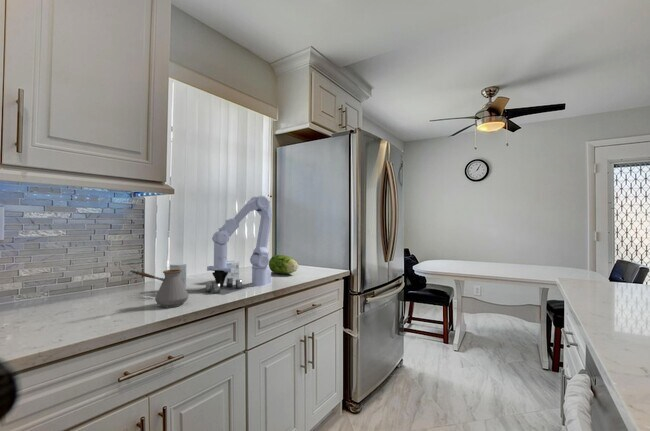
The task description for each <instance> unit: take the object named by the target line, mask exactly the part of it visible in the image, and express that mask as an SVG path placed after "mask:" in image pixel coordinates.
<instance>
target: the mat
mask: <svg viewBox="0 0 650 431" xmlns="http://www.w3.org/2000/svg"><path fill="white" fill-rule="evenodd" d="M245 289H247V287H242V289H236V286H233V287H230V288H227V285H225V284H223V287H221V288H220V293H218V294H217V295H219V296H220V295H221V296H225V295H228V294H231V293H235V292H239V291H242V290H245ZM193 292H199V293H206V287H203V288H198V289H195V290H193ZM206 294H207V293H206ZM209 294H212V295H215V294H214V293H213V292H210V293H209Z"/></svg>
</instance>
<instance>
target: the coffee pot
mask: <svg viewBox="0 0 650 431" xmlns="http://www.w3.org/2000/svg"><path fill="white" fill-rule="evenodd" d="M181 271H182V270H170V269H166V270H164V271H162V273H163V274H164V277H160V276H155V275H152V274H149V273H146V272H142V271H141V272H140V271H139V270H138V271H135V270H130V271H129V272H128V273H127V276H128V277H132V276H133V274H135V275H139V276H141V277H145V278H149V279H154V280H158V281H162V283H161V285H160V287H159V288H158V292H157V293H156V296H155V298H154V301H155V302H156V304H158V305H159V306H160V307H161V308H175V307H180V306H183V304H184V303H185V302H186V301H188V299H189V296H190V295H189V293H188V291H187V288H186V289H185V286H184V284H183V282H182V280H181V278H180V272H181ZM130 273H131V275H129V274H130Z"/></svg>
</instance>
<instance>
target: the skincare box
mask: <svg viewBox="0 0 650 431" xmlns="http://www.w3.org/2000/svg"><path fill="white" fill-rule="evenodd" d="M169 270H182V271H181V272H180V278H181V280H182V282H183V284H184V286H185V289H186V290H187V264H186V263H172V264H170V265H169Z"/></svg>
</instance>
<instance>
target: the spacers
mask: <svg viewBox="0 0 650 431" xmlns="http://www.w3.org/2000/svg"><path fill="white" fill-rule="evenodd" d="M233 285H234V282H233V278H227V283H226V286H227V288H230V287H234V286H233ZM235 287H236V289H242V288H243V280H242V279H241V278H239V279H238V280H236V281H235ZM205 288H206V294H211V293H210V292H213V293H214V294H213V295H219V294H218V293H220V283H214V284H213V282H211V281H209V282H205ZM242 290H243V289H242Z"/></svg>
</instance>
